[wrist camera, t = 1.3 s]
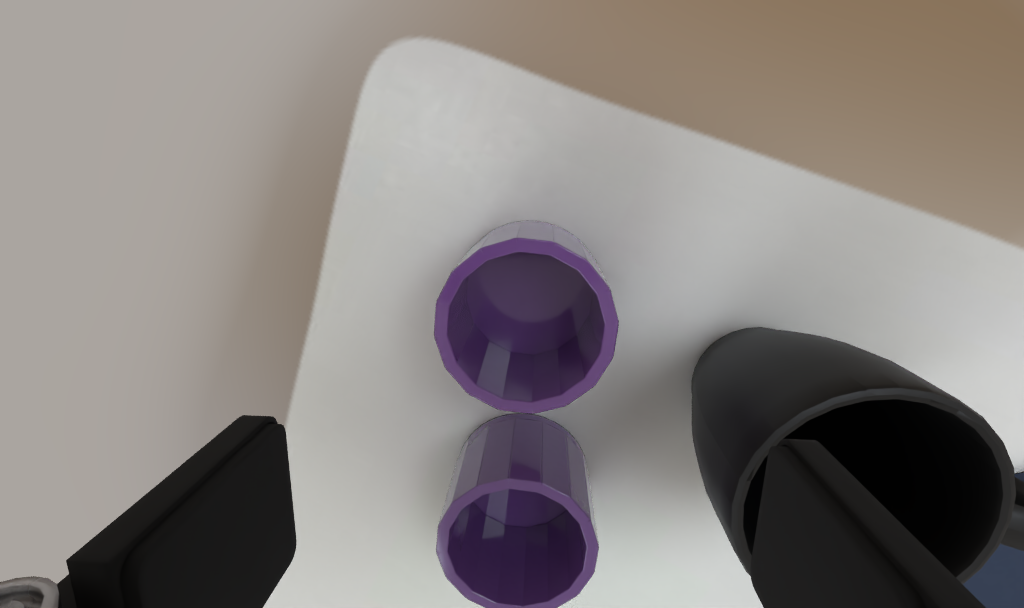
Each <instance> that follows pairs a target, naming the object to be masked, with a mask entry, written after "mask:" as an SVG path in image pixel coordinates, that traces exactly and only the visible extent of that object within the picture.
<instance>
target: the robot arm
mask: <svg viewBox="0 0 1024 608" xmlns="http://www.w3.org/2000/svg"><path fill="white" fill-rule="evenodd" d="M295 550H296V532H295V522H294V512H293V501H292V491H291V481H290V471H289V461H288V451H287V441H286V432H285V428H284V426H283V425H282V424H277V421H276V419H275V418H274V417H271V416H247V415H243V416H241V417H239V418H238V419H237V420H235V421H234V422H233V423H232V424H231V425H229V426H228V427H227V428H226V429H224V430H223V431H222V432H221V433H220V434H218V435H217V436H216V437H215V438H214V439H212V440H211V441H210V442H209V443H207V445H205V446H204V447H203V448H201V449H200V450H199V451H198V452H197V453H195V454H194V455H193V456H192V457H191V458H189V459H188V460H187V461H186V462H185V463H183V464H182V465H181V466H180V467H179V468H177V469H176V470H175V471H174V472H172V473H171V474H170V475H169V476H168V477H166V478H165V479H164V480H163V481H162V482H160V483H159V484H158V485H157V486H156V487H155V488H153V489H152V490H151V491H150V492H148V493H147V494H146V495H145V496H143V497H142V498H141V499H140V500H139V501H138V502H136V503H135V504H134V505H133V506H131V507H130V508H129V509H128V510H127V511H125V512H124V513H123V514H122V515H121V516H119V517H118V518H117V519H116V520H114V521H113V522H112V523H111V524H110V525H108V526H107V527H106V528H105V529H104V530H102V531H101V532H100V533H99V534H98V535H96V536H95V537H94V538H93V539H91V540H90V541H89V542H88V543H87V544H85V545H84V546H83V547H82V548H81V549H80V550H79V551H77V552H76V553H75V554H73V555H72V556H71V557H70V558H69V559H67V560H66V562H67V566H68V570H69V575H67V576H66V577H65V578H64V579H63V580H62V581H60V582H59V583H58V584H56V583H54V582H53V581H51V580H50V579H48V578H42V577H34V576H33V577H23V578H15V579H12V580H7V581H3V582H0V608H263V606H264V604H265V603H266V601H267V600H268V598H269V597H270V595H271V593H272V592H273V590H274V589H275V587H276V586H277V584H278V582H279V581H280V579H281V578H282V576H283V574H284V573H285V571H286V570H287V568H288V567H289V565H290V563H291V562H292V560H293V557H294V554H295ZM750 572H751V580H752V584H753V587H754V589H755V591H756V593H757V595H758V597H759V599H760V601H761V603H762V605H763V607H764V608H986V607H985V606H984V605H983V604H982V603H981V602H980V601H979V600H978V599H977V598H976V597H975V596H974V595H973V594H972V593H971V592H970V591H969V590H968V589H967V588H966V587H965V586H964V585H963V584H962V583H961V582H960V581H959V580H958V579H957V578H956V577H955V576H954V575H953V574H952V573H950V572H949V571H948V570H947V569H946V568H945V567H944V566H943V565H942V564H941V563H940V562H939V561H938V560H937V559H936V558H935V557H934V556H933V555H932V554H931V553H930V552H929V551H928V550H927V549H926V548H925V547H924V546H923V545H922V544H921V543H920V542H919V541H918V540H917V539H916V538H915V537H914V536H913V535H912V534H911V533H910V532H909V531H908V530H907V529H906V528H905V527H904V526H903V525H902V524H901V523H900V522H899V521H898V520H897V519H896V518H895V517H894V516H893V515H892V514H891V513H890V512H889V511H888V510H887V509H886V508H885V507H884V506H883V505H882V504H881V503H880V502H879V501H878V500H877V499H876V498H875V497H874V496H873V495H872V494H871V493H870V492H869V491H868V490H867V489H866V488H865V487H864V486H863V485H862V484H861V483H860V482H859V481H858V480H857V479H856V478H855V477H854V476H853V475H852V474H851V473H850V472H849V471H848V470H847V469H846V468H845V467H844V466H843V465H842V464H841V463H839V462H838V461H837V460H836V459H835V458H834V457H833V456H832V455H831V454H830V453H829V452H828V451H827V450H826V449H825V448H824V447H823V446H822V445H821V444H820V443H819V442H818V441H816V440H800V439H782V440H781V441H780V442H779V444H778V446H772V447H771V448H770V450H769V453H768V459H767V465H766V471H765V477H764V484H763V490H762V496H761V503H760V509H759V515H758V522H757V528H756V534H755V540H754V547H753V553H752V559H751V567H750Z"/></svg>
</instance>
